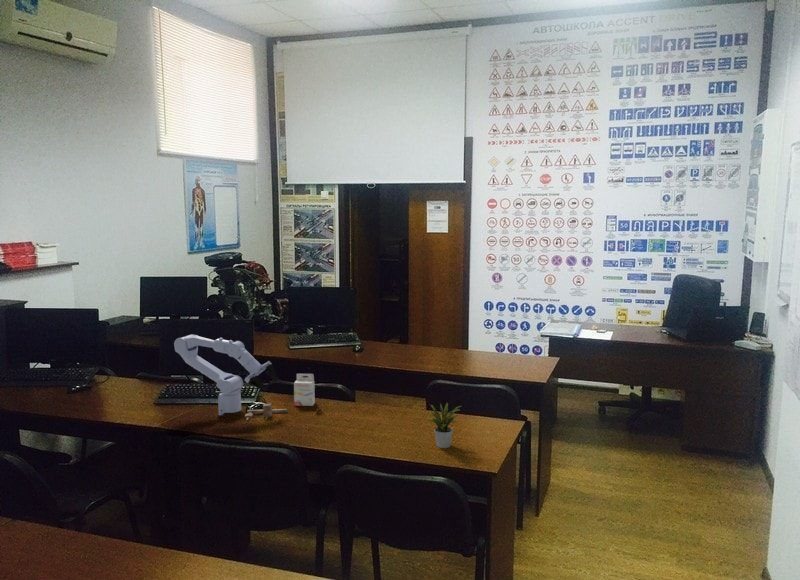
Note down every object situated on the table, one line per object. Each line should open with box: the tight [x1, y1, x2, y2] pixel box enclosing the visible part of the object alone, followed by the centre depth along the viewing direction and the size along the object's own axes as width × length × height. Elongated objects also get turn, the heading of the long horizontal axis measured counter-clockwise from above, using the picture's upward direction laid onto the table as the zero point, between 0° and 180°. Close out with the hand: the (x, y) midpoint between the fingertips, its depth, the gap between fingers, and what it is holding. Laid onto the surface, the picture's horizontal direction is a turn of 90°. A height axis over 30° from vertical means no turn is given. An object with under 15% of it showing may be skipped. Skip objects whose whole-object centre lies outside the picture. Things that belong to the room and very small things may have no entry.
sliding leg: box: [262, 403, 273, 420], centre depth 266 cm, size 3×10×5 cm, turn 2°
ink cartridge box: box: [293, 373, 316, 407], centre depth 282 cm, size 9×5×15 cm, turn 84°
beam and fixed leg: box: [244, 408, 288, 421], centre depth 267 cm, size 17×10×2 cm, turn 92°
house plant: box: [426, 402, 461, 449], centre depth 229 cm, size 14×14×16 cm
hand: (271, 385), depth 268 cm, fingers open, 7 cm apart
